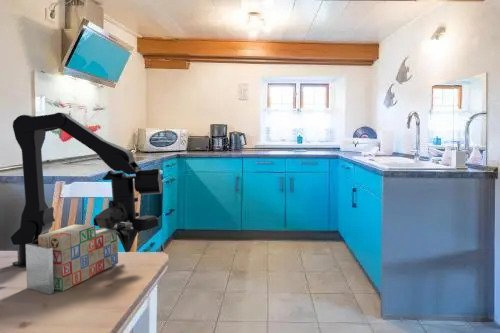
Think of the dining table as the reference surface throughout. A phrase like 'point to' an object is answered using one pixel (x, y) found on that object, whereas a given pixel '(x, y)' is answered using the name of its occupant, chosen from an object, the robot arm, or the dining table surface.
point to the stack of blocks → (80, 253)
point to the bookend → (39, 268)
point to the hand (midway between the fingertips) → (127, 251)
